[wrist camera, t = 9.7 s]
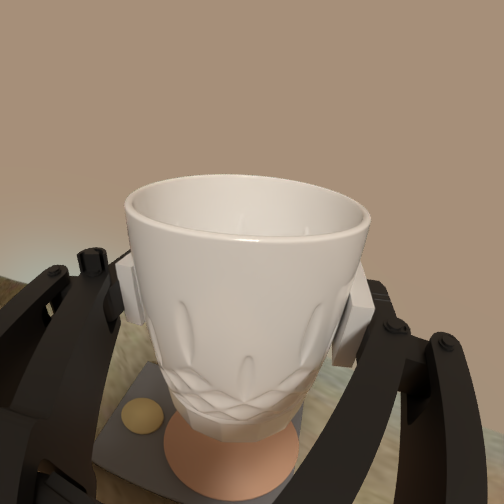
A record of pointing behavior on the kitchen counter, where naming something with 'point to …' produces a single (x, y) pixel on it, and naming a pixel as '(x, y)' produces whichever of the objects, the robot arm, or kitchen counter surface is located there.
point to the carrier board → (190, 451)
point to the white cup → (242, 292)
